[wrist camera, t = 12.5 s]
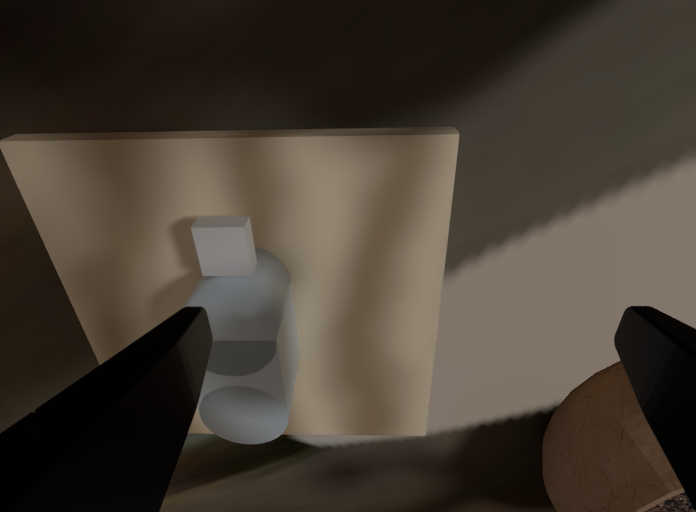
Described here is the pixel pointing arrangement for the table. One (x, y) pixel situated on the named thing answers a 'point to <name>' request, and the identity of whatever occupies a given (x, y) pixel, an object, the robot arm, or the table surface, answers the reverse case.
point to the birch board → (263, 247)
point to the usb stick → (245, 333)
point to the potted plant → (607, 452)
